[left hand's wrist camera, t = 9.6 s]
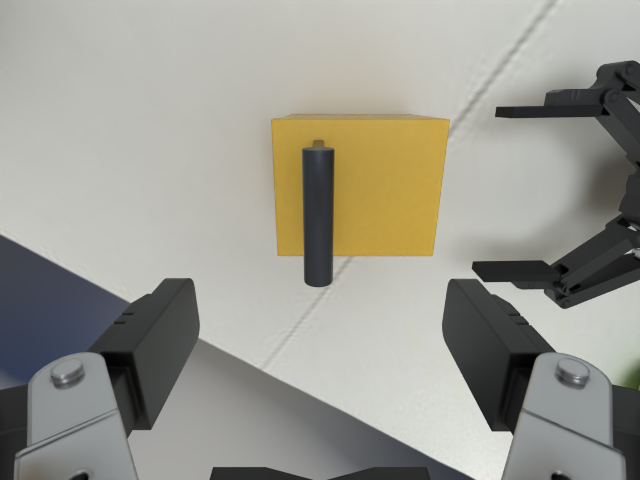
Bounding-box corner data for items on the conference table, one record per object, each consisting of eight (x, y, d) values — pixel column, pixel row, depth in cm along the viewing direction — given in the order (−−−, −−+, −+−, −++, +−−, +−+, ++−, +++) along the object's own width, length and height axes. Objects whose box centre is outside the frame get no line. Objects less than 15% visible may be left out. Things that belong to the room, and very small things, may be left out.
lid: (279, 250, 28) (264, 305, 21) (273, 118, 25) (252, 125, 17) (428, 250, 28) (468, 305, 21) (444, 118, 25) (500, 125, 17)
